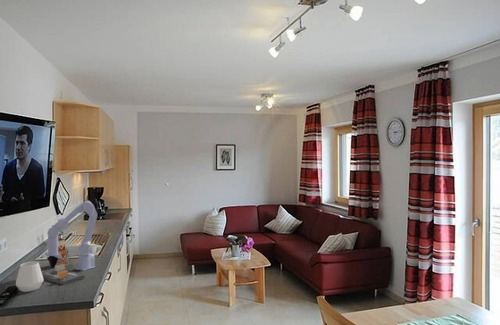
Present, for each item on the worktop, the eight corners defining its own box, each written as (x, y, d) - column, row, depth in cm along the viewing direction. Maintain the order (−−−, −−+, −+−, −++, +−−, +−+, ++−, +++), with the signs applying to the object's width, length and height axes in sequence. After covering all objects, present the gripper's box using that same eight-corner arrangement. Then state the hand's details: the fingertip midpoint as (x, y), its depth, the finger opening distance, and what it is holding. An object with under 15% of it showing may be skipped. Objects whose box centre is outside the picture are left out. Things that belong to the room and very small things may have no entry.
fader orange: (64, 275, 216) (64, 269, 216) (67, 276, 214) (67, 270, 214) (57, 277, 212) (57, 271, 212) (60, 278, 210) (60, 272, 210)
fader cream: (61, 268, 229) (61, 262, 229) (64, 269, 227) (64, 263, 227) (54, 270, 225) (54, 264, 225) (57, 271, 223) (57, 265, 223)
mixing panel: (58, 271, 232) (58, 268, 232) (84, 278, 219) (84, 274, 219) (38, 277, 220) (38, 273, 220) (63, 284, 207) (63, 281, 207)
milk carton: (69, 264, 246) (68, 235, 246) (55, 268, 239) (55, 237, 238) (61, 262, 252) (61, 233, 251) (48, 265, 244) (47, 236, 243)
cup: (13, 288, 202) (12, 263, 202) (39, 282, 211) (39, 258, 211) (18, 295, 192) (18, 269, 192) (46, 288, 202) (46, 263, 201)
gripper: (40, 246, 229) (40, 267, 230) (53, 249, 222) (53, 271, 222) (51, 244, 236) (51, 264, 236) (64, 246, 228) (64, 268, 228)
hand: (53, 267), depth 230 cm, fingers closed
